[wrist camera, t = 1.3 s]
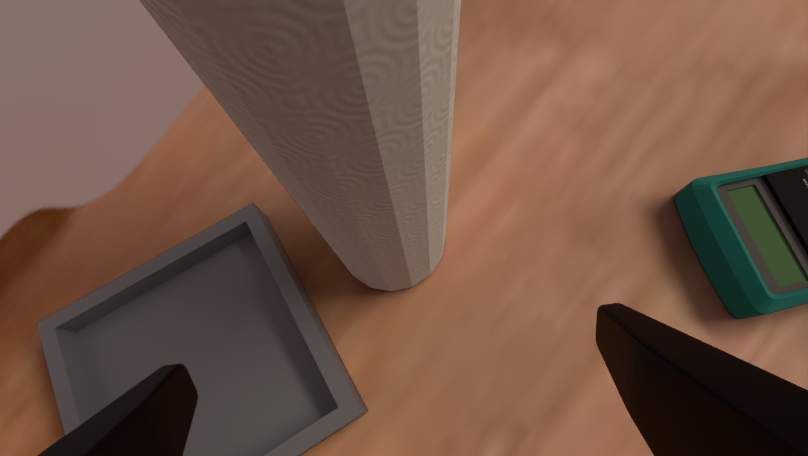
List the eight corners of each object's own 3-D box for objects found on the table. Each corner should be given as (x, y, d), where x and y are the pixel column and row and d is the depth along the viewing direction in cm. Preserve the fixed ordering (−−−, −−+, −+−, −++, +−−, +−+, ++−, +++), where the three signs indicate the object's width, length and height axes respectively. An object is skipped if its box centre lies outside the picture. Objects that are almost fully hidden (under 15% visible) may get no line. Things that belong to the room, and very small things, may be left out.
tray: (368, 411, 21) (361, 413, 19) (134, 563, 19) (102, 582, 17) (266, 216, 25) (253, 202, 23) (67, 327, 24) (36, 323, 22)
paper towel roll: (391, 316, 22) (41, -221, 3) (319, 242, 24) (-220, -410, 4) (480, 225, 24) (708, -569, 4) (406, 162, 26) (304, -604, 6)
